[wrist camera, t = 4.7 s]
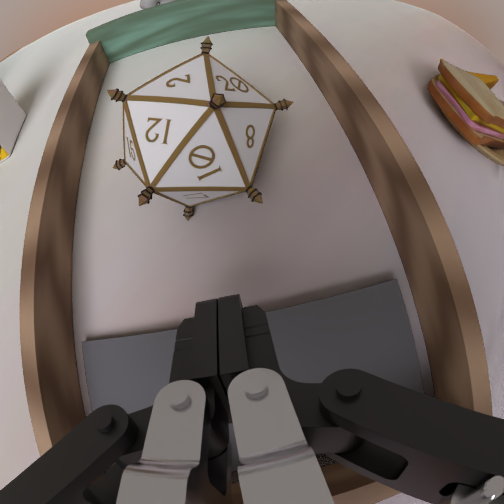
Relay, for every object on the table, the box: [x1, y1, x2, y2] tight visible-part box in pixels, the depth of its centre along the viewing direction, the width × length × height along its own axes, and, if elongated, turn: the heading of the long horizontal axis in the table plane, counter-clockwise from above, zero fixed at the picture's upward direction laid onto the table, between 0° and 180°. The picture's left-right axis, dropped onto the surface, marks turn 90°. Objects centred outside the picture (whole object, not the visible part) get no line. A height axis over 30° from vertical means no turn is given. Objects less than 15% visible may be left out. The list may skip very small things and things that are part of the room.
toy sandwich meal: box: [427, 59, 504, 166], centre depth 17 cm, size 12×14×5 cm
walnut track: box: [20, 0, 492, 504], centre depth 15 cm, size 40×21×5 cm, turn 12°
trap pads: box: [82, 279, 424, 471], centre depth 12 cm, size 8×17×1 cm, turn 102°
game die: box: [107, 36, 293, 220], centre depth 13 cm, size 9×8×10 cm
